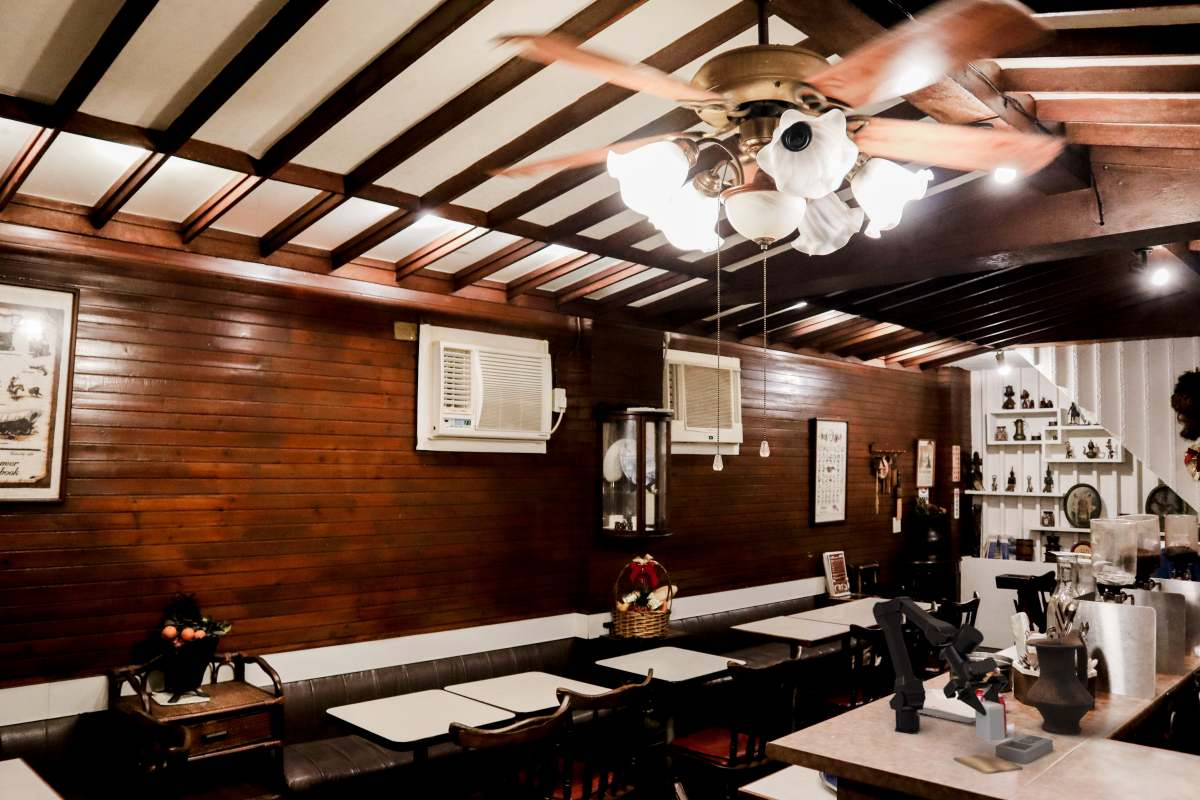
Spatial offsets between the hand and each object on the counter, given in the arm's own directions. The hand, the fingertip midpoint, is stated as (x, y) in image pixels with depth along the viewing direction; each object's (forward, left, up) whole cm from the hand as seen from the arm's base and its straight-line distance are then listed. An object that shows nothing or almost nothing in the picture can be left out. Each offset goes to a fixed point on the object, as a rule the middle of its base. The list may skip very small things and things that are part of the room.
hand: (993, 713), depth 230 cm
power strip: (+7, +15, -13) cm, 21 cm away
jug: (+17, +46, -14) cm, 51 cm away
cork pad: (-2, 0, -13) cm, 14 cm away
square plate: (-16, +54, -14) cm, 58 cm away
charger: (-1, +1, -7) cm, 7 cm away
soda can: (-2, +31, -14) cm, 34 cm away
